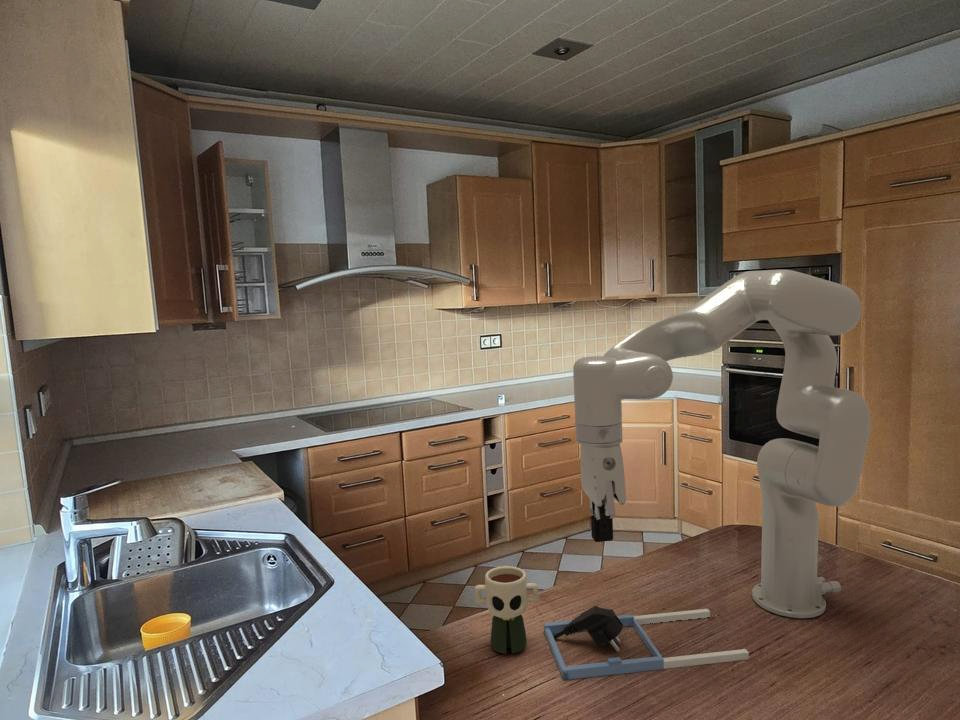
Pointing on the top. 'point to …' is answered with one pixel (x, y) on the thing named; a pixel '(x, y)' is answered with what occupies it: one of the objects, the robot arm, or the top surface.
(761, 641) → the top surface
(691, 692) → the top surface
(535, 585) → the character mug
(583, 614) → the power plug
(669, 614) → the blue cream pronged frame
